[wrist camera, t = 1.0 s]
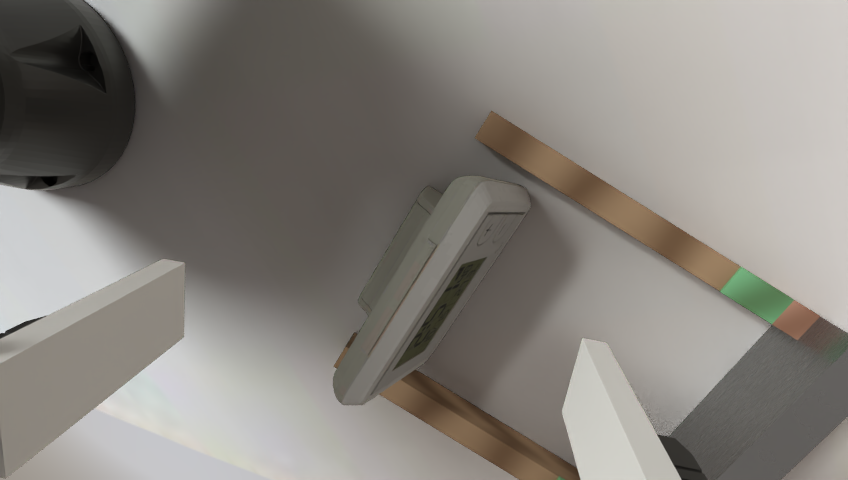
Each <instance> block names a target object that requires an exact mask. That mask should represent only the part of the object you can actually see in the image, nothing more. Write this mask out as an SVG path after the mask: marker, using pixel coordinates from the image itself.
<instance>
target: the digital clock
mask: <svg viewBox="0 0 848 480" xmlns="http://www.w3.org/2000/svg"><path fill="white" fill-rule="evenodd" d="M530 207H531V202H530V198H529V195H528V192H527V189H526V188H524V187H523V186H521V185H518V184H514V183H510V182H505V181H501V180H496V179H491V178H487V177H482V176H463V177H459V178H457V179H455V180H453V181H452V182H451V184H450V185H449V186H448V188H447V189H446V191H445V192H444V194H442V193H440V192H438V191H437V190H435V189H433V188H431V187H429V186H427V187H426V188H425V189H424V190H423V191H422V192H421V193H420V195H419V197H418V199H417V201H416V202H415V204H414V206H413V207H412V209H411V211H410V212H409V214H408V216H407V217H406V219H405V221H404V222H403V224H402V226H401V227H400V229H399V231H398V233H397V234H396V236H395V238H394V239H393V241H392V243H391V244H390V246H389V248H388V249H387V251H386V253H385V254H384V256H383V258H382V259H381V261H380V263H379V265H378V266H377V268H376V270H375V271H374V273H373V275H372V276H371V278H370V280H369V281H368V283H367V285H366V286H365V288H364V290H363V291H362V293H361V295H360V296H359V299H358V303H359V305H360V306H361V307H362V308H363V309H364V310H365V311H366V313H367V314H368V316H369V317H368V318H367V320H366V321H365V323H364V325H363V326H362V328H361V330H360V331H359V333H358V335H357V336H356V338H355V340H354V341H353V343H352V344H351V346H350V348H349V349H348V351H347V353H346V354H345V356H344V358H343V359H342V361H341V363H340V365H339V366H338V368H337V370H336V371H335V374H334V377H333V388H334V393H335V396H336V398H337V399H338V401H339V402H340V403H342V405H363V404H365V403H366V402H368V401H369V400H371V399H373V398H374V397H376V396H377V395H379V394H380V393H381V392H383V391H384V390H386V389H387V388H389V387H390V386H392V385H393V384H395V383H396V382H398V381H399V380H401V379H402V378H404V377H405V376H406V375H408V374H409V373H411V372H412V371H414V370H415V369H417V368H418V367H420V366H421V365H422V364H424V363H425V362H426V361H427V360H428V359H429V357H430V356H431V355H432V353H433V352H434V350H435V349H436V347H437V346H438V344H439V343H440V342H441V340H442V339H443V337H444V336H445V334H446V333H447V331H448V330H449V328H450V327H451V325H452V324H453V322H454V321H455V319H456V318H457V316H458V315H459V313H460V312H461V310H462V309H463V307H464V306H465V305H466V303H467V302H468V300H469V299H470V297H471V296H472V294H473V293H474V291H475V290H476V288H477V287H478V285H479V284H480V282H481V281H482V279H483V278H484V276H485V275H486V273H487V272H488V270H489V269H490V268H491V266H492V265H493V263H494V262H495V260H496V259H497V257H498V256H499V254H500V253H501V251H502V250H503V248H504V247H505V245H506V244H507V242H508V241H509V239H510V238H511V236H512V235H513V233H514V232H515V230H516V229H517V227H518V226H519V224H520V223H521V221H522V220H523V218H524V217H525V215H526V214H527V212H528V211H529V209H530Z"/></svg>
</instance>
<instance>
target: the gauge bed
mask: <svg viewBox="0 0 848 480" xmlns="http://www.w3.org/2000/svg"><path fill="white" fill-rule="evenodd" d="M475 139H477V140H479V141H480V142H482V143H483V144H485V145H487V146H488V147H490V148H491V149H493V150H495V151H496V152H498V153H499V154H501V155H503V156H504V157H506V158H507V159H509V160H511V161H512V162H514V163H515V164H517V165H519V166H520V167H522V168H523V169H525V170H527V171H528V172H530V173H531V174H533V175H535V176H536V177H538V178H539V179H541V180H543V181H544V182H546V183H547V184H549V185H551V186H552V187H554V188H555V189H557V190H559V191H560V192H562V193H563V194H565V195H567V196H568V197H570V198H571V199H573V200H575V201H576V202H578V203H579V204H581V205H583V206H584V207H586V208H587V209H589V210H591V211H592V212H594V213H595V214H597V215H599V216H600V217H602V218H603V219H605V220H607V221H608V222H610V223H611V224H613V225H615V226H616V227H618V228H619V229H621V230H623V231H624V232H626V233H627V234H629V235H631V236H632V237H634V238H635V239H637V240H639V241H640V242H642V243H643V244H645V245H647V246H648V247H650V248H651V249H653V250H655V251H656V252H658V253H659V254H661V255H663V256H664V257H666V258H667V259H669V260H671V261H672V262H674V263H675V264H677V265H679V266H680V267H682V268H683V269H685V270H687V271H688V272H690V273H691V274H693V275H695V276H696V277H698V278H699V279H701V280H703V281H704V282H706V283H707V284H709V285H711V286H712V287H714V288H715V289H717V290H719V291H720V292H721V293H722V294H724V295H726V296H727V297H729V298H730V299H732V300H734V301H735V302H737V303H738V304H740V305H742V306H743V307H745V308H746V309H748V310H750V311H751V312H753V313H755V314H756V315H758V316H759V317H761V318H763V319H764V320H766V321H767V322H769V323H771V324H772V325H774V326H775V327H777V328H779V329H780V330H782V331H783V332H785V333H787V334H788V335H790V336H791V337H793V338H795V339H796V340H798V339H799V338H800V337H801V336H802V335H803V334H804V333H805V332H806V331H807V330H808V329H809V328H810V327H811V325H812V324H813V323H814V322H815V321H816V320H817V319H818V318H819V317H820V316H819V315H817V314H816V313H814V312H813V311H811V310H809V309H808V308H806V307H805V306H803V305H801V304H800V303H798V302H797V301H795V300H793V299H792V298H790V297H789V296H787V295H785V294H784V293H782V292H781V291H779V290H777V289H776V288H774V287H773V286H771V285H769V284H768V283H766V282H765V281H763V280H761V279H760V278H758V277H757V276H755V275H754V274H752V273H750V272H749V271H747V270H746V269H744V268H742V267H741V266H738V265H737V264H735V263H734V262H732V261H731V260H729V259H727V258H726V257H724V256H723V255H721V254H719V253H718V252H716V251H715V250H713V249H711V248H710V247H708V246H707V245H705V244H703V243H702V242H700V241H699V240H697V239H695V238H694V237H692V236H691V235H689V234H687V233H686V232H684V231H683V230H681V229H679V228H678V227H676V226H675V225H673V224H671V223H670V222H668V221H667V220H665V219H663V218H662V217H660V216H659V215H657V214H656V213H654V212H652V211H651V210H649V209H648V208H646V207H644V206H643V205H641V204H640V203H638V202H636V201H635V200H633V199H632V198H630V197H628V196H627V195H625V194H624V193H622V192H620V191H619V190H617V189H616V188H614V187H612V186H611V185H609V184H608V183H606V182H604V181H603V180H601V179H600V178H598V177H596V176H595V175H593V174H592V173H590V172H589V171H587V170H585V169H584V168H582V167H581V166H579V165H577V164H576V163H574V162H573V161H571V160H569V159H568V158H566V157H565V156H563V155H561V154H560V153H558V152H557V151H555V150H553V149H552V148H550V147H549V146H547V145H545V144H544V143H542V142H541V141H539V140H537V139H536V138H534V137H533V136H531V135H529V134H528V133H526V132H525V131H523V130H521V129H520V128H518V127H517V126H515V125H514V124H512V123H510V122H509V121H507V120H506V119H504V118H502V117H501V116H499V115H498V114H496V113H494V112H493V111H491V112H490V114H489V115H488V117H487V119H486V120H485V122H484V124H483V125H482V127H481V128H480V130H479V132H478V133H477V135H476V137H475ZM357 335H358V334H356V333H355V332H354V334H353V336H352V337H351V339H350V341H349V342H348V344H347V345H346V347H345V349H344V350H343V352H342V353H341V355H340V357H339V358H338V360H337V362H336V363H335V365H334V367H335V368H338V366H339V365H340V363H341V361H342V359H343V358H344V356H345V354H346V353H347V351H348V349H349V348H350V346H351V344H352V343H353V341H354V340H355V338H356V336H357ZM380 395H381V396H383V397H385V398H386V399H388V400H390V401H391V402H393V403H394V404H396V405H398V406H399V407H401V408H403V409H404V410H406V411H408V412H409V413H411V414H413V415H414V416H416V417H417V418H419V419H421V420H422V421H424V422H426V423H427V424H429V425H431V426H432V427H434V428H436V429H437V430H439V431H440V432H442V433H444V434H445V435H447V436H449V437H450V438H452V439H454V440H455V441H457V442H459V443H460V444H462V445H463V446H465V447H467V448H468V449H470V450H472V451H473V452H475V453H477V454H478V455H480V456H482V457H483V458H485V459H486V460H488V461H490V462H491V463H493V464H495V465H496V466H498V467H500V468H501V469H503V470H505V471H506V472H508V473H509V474H511V475H513V476H514V477H516V478H518V479H519V480H580V476H579V472H578V469H577V468H576V467H574V466H572V465H571V464H569V463H567V462H566V461H564V460H562V459H561V458H559V457H558V456H556V455H554V454H553V453H551V452H549V451H548V450H546V449H544V448H543V447H541V446H540V445H538V444H536V443H535V442H533V441H531V440H530V439H528V438H526V437H525V436H523V435H522V434H520V433H518V432H517V431H515V430H513V429H512V428H510V427H509V426H507V425H505V424H504V423H502V422H500V421H499V420H497V419H495V418H494V417H492V416H491V415H489V414H487V413H486V412H484V411H482V410H481V409H479V408H477V407H476V406H474V405H473V404H471V403H469V402H468V401H466V400H464V399H463V398H461V397H459V396H458V395H456V394H455V393H453V392H451V391H450V390H448V389H446V388H445V387H443V386H441V385H440V384H438V383H437V382H435V381H433V380H432V379H430V378H428V377H427V376H425V375H423V374H422V373H420V372H419V371H417V370H414V371H412V372H411V373H409V374H408V375H406V376H405V377H404V378H402V379H401V380H399V381H398V382H396V383H395V384H393V385H392V386H390V387H389V388H387V389H386V390H384V391H383V392H381V393H380Z"/></svg>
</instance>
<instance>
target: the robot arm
mask: <svg viewBox="0 0 848 480" xmlns="http://www.w3.org/2000/svg"><path fill="white" fill-rule="evenodd" d="M134 111H135V97H134V88H133V82H132V77H131V73H130V69H129V66H128V63H127V60H126V58H125V55H124V53H123V51H122V49H121V47H120V45H119V43H118V41H117V39H116V38H115V36H114V34H113V33H112V31H111V30H110V28H109V27H108V26H107V24H106V23H105V22H104V20H103V19H102V18H101V17H100V16H99V15H98V14H97V13H96V12H95V11H94V10H93V9H92V8H91V7H90V6H89V5H88V4H87V3H85V2H84V1H83V0H0V185H4V186H10V187H16V188H22V189H27V190H54V189H60V188H66V187H72V186H77V185H81V184H85V183H88V182H90V181H92V180H94V179H96V178H98V177H100V176H101V175H103V174H104V173H105V172H107V171H108V170H109V169H110V168H111V167H112V166H113V165H114V164H115V163H116V161H117V160H118V159H119V157H120V156H121V154H122V153H123V151H124V149H125V147H126V145H127V142H128V140H129V137H130V134H131V130H132V126H133V121H134ZM184 309H185V263H184V262H179V261H173V260H168V259H161V260H159V261H157V262H155V263H153V264H151V265H149V266H147V267H145V268H143V269H141V270H139V271H137V272H135V273H133V274H131V275H129V276H127V277H125V278H123V279H121V280H119V281H117V282H115V283H113V284H111V285H109V286H107V287H105V288H103V289H101V290H99V291H97V292H94V293H92V294H90V295H88V296H86V297H84V298H82V299H80V300H78V301H76V302H74V303H72V304H70V305H68V306H66V307H64V308H62V309H60V310H58V311H56V312H54V313H52V314H50V315H47V316H44V317H40V318H37V319H33V320H30V321H26V322H24V323H22V324H19V325H17V326H15V327H13V328H11V329H9V330H7V331H5V333H1V334H0V477H1V478H7V477H9V476H10V475H11V474H12V473H13V472H15V471H16V470H17V469H19V468H20V467H21V466H22V465H24V464H25V463H26V462H27V461H29V460H30V459H31V458H33V457H34V456H35V455H36V454H38V453H39V452H40V451H41V450H43V449H44V448H45V447H46V446H47V445H49V444H50V443H51V442H53V441H54V440H55V439H56V438H58V437H59V436H60V435H61V434H63V433H64V432H65V431H66V430H68V429H69V428H70V427H71V426H73V425H74V424H75V423H76V422H78V421H79V420H80V419H82V418H83V417H84V416H85V415H86V414H88V413H89V412H90V411H91V410H93V409H94V408H95V407H97V406H98V405H99V404H100V403H102V402H103V401H104V400H105V399H107V398H108V397H109V396H110V395H112V394H113V393H114V392H115V391H117V390H118V389H119V388H120V387H122V386H123V385H124V384H126V383H127V382H128V381H129V380H131V379H132V378H133V377H134V376H136V375H137V374H138V373H139V372H141V371H142V370H143V369H144V368H146V367H147V366H148V365H149V364H151V363H152V362H153V361H154V360H156V359H157V358H158V357H159V356H161V355H162V354H163V353H164V352H166V351H167V350H168V349H169V348H171V347H172V346H173V345H175V344H176V343H177V342H178V341H180V340H181V339H182V338H183V337H184ZM562 415H563V418H564V422H565V426H566V429H567V433H568V436H569V440H570V444H571V447H572V451H573V454H574V458H575V462H576V465H577V469H578V472H579V476H580V480H708V479H707V478H706V476H705V474H703V473H702V469H701V468H700V466H699V465H698V463H697V461H696V460H695V458H694V456H693V455H692V454H691V453H690V452H689V451H688V450H687V449H686V448H685V447H684V446H683V445H682V444H681V443H680V442H679V441H677V440H676V439H675V438H672V437H667V436H662V435H657V434H656V432H655V430H654V428H653V426H652V425H651V423H650V421H649V419H648V417H647V415H646V414H645V412H644V410H643V408H642V406H641V404H640V403H639V401H638V399H637V397H636V395H635V393H634V392H633V390H632V388H631V386H630V384H629V382H628V381H627V379H626V377H625V375H624V373H623V372H622V370H621V368H620V366H619V364H618V362H617V361H616V359H615V357H614V355H613V353H612V351H611V350H610V348H609V346H608V344H607V342H601V341H596V340H591V339H585V338H582V341H581V344H580V348H579V352H578V355H577V359H576V362H575V366H574V370H573V373H572V377H571V380H570V384H569V387H568V391H567V395H566V398H565V402H564V405H563V409H562Z"/></svg>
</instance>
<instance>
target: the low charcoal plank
mask: <svg viewBox="0 0 848 480" xmlns="http://www.w3.org/2000/svg"><path fill="white" fill-rule="evenodd" d="M847 416H848V333H846V332H845V331H843V330H841V329H840V328H838V327H836V326H835V325H833V324H831V323H830V322H828V321H827V320H825V319H823V318H822V317H819V318H818V319H817V320H816V321H815V322H814V323H813V324H812V325H811V327H810V328H809V329H808V330H807V331H806V332H805V333H804V334H803V335H802V336H801V337H800V338H799V339H798V340H796V339H795V338H793V337H791V336H790V335H788V334H787V333H785V332H783V331H782V330H780V329H779V328H777V327H775V326H774V325H772V326H771V327H770V328H769V329H768V330H767V331H766V333H765V334H764V335H763V336H762V337H761V338H760V339H759V340H758V341H757V342H756V343H755V344H754V346H753V347H752V348H751V349H750V350H749V351H748V352H747V353H746V354H745V355H744V356H743V357H742V358H741V360H740V361H739V362H738V363H737V364H736V365H735V366H734V367H733V368H732V369H731V370H730V371H729V372H728V374H727V375H726V376H725V377H724V378H723V379H722V380H721V381H720V382H719V383H718V384H717V385H716V386H715V388H714V389H713V390H712V391H711V392H710V393H709V394H708V395H707V396H706V397H705V398H704V399H703V400H702V402H701V403H700V404H699V405H698V406H697V407H696V408H695V409H694V410H693V411H692V412H691V413H690V415H689V416H688V417H687V418H686V419H685V420H684V421H683V422H682V423H681V424H680V425H679V426H678V427H677V429H676V430H675V431H674V432H673V433H672V434H671V435H670V436H669V437H672V438H675V439H676V440H677V441H679V442H680V443H681V444H682V445H683V446H684V447H685V448H686V449H687V450H688V451H689V452H690V453H691V454H692V455H693V456H694V458H695V460H696V461H697V463H698V465H699V466H700V468H701V469H702V473H703V474H705V476H706V478H707V479H708V480H781V479H782V478H783V477H784V476H785V475H786V474H787V473H788V472H789V471H790V470H791V469H792V468H793V467H795V466H796V465H797V464H798V463H799V462H800V461H801V460H802V459H803V458H804V457H805V456H806V455H807V454H808V453H809V452H810V451H811V450H812V449H814V448H815V447H816V446H817V445H818V444H819V443H820V442H821V441H822V440H823V439H824V438H825V437H826V436H827V435H828V434H829V433H830V432H831V431H833V430H834V429H835V428H836V427H837V426H838V425H839V424H840V423H841V422H842V421H843V420H844V419H845V418H846V417H847Z"/></svg>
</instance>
